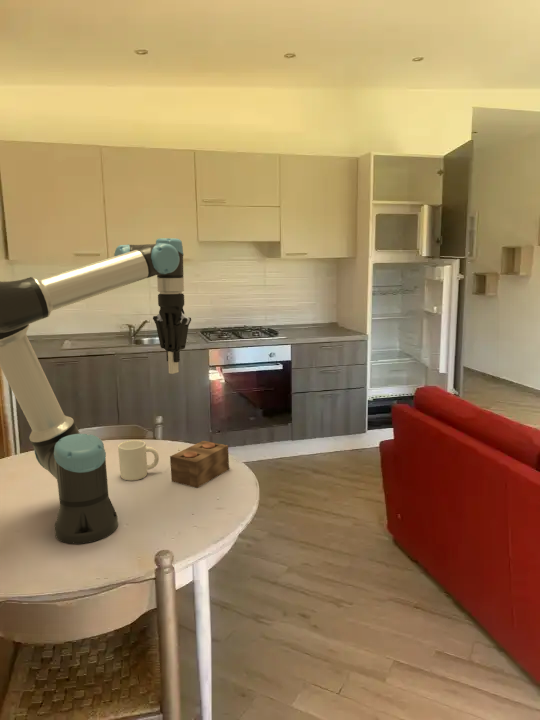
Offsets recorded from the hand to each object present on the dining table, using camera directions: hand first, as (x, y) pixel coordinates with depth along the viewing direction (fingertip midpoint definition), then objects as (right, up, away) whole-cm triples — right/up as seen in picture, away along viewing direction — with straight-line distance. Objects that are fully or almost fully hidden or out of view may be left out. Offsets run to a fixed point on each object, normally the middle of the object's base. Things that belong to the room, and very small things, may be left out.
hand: (173, 372), depth 164 cm
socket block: (+7, -32, +8) cm, 34 cm away
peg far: (+9, -30, +11) cm, 34 cm away
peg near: (+5, -32, +4) cm, 32 cm away
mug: (-12, -33, +9) cm, 36 cm away
